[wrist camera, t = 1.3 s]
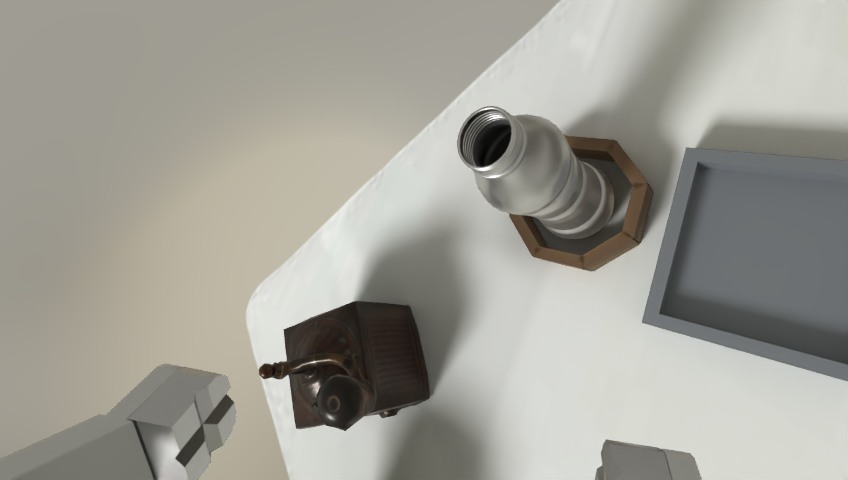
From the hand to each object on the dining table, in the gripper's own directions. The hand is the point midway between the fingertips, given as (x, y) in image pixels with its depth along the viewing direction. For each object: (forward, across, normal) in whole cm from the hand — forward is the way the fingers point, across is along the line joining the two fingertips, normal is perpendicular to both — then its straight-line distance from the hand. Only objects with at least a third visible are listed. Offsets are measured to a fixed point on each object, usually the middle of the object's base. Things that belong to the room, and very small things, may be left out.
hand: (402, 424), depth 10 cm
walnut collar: (+35, -8, +9) cm, 37 cm away
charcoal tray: (+28, -20, +9) cm, 36 cm away
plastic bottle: (+35, -8, +9) cm, 37 cm away
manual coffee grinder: (+32, +9, +27) cm, 43 cm away
